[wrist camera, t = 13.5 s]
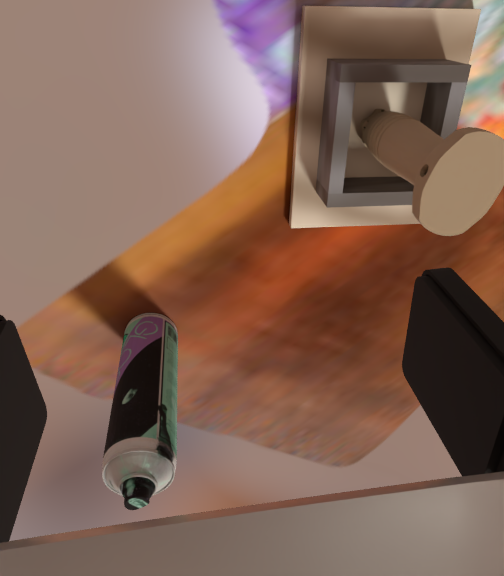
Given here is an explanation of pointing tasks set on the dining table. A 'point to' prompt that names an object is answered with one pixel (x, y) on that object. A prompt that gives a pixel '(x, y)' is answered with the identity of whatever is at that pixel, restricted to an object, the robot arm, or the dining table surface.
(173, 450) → the spray can
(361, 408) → the dining table surface
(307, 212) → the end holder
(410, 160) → the handle
